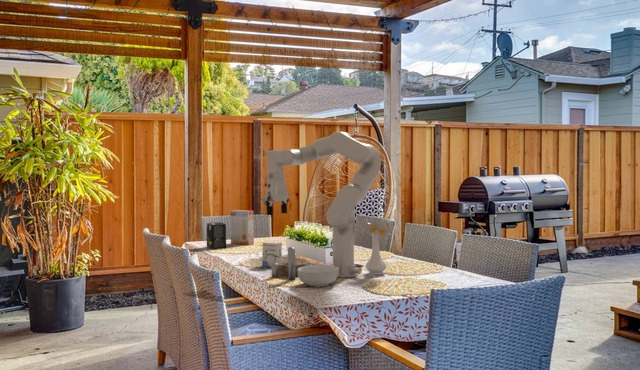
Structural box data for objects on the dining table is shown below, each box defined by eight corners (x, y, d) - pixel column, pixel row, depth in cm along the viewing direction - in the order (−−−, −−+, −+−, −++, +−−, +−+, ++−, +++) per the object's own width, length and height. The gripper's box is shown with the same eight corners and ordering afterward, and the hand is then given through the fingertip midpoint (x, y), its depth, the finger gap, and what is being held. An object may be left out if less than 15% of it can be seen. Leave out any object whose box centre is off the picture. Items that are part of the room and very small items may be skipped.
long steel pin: (296, 279, 256) (296, 247, 255) (292, 280, 253) (292, 248, 253) (291, 279, 257) (291, 246, 257) (286, 280, 255) (286, 247, 254)
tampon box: (206, 247, 356) (205, 222, 355) (221, 246, 360) (221, 221, 359) (211, 249, 346) (210, 224, 345) (226, 248, 350) (226, 223, 349)
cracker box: (254, 244, 366) (253, 210, 365) (248, 245, 361) (247, 211, 360) (236, 242, 374) (236, 209, 373) (230, 243, 369) (229, 210, 368)
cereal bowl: (315, 279, 256) (315, 263, 256) (346, 284, 246) (346, 267, 246) (289, 286, 243) (289, 268, 243) (320, 291, 233) (320, 273, 232)
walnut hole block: (304, 274, 267) (304, 263, 266) (293, 277, 260) (293, 266, 260) (287, 272, 272) (287, 261, 272) (275, 275, 266) (275, 264, 266)
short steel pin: (279, 277, 262) (279, 263, 262) (275, 278, 260) (275, 264, 259) (274, 276, 264) (274, 262, 264) (270, 277, 261) (269, 263, 261)
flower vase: (375, 278, 256) (374, 220, 255) (355, 271, 273) (354, 217, 272) (401, 276, 262) (400, 219, 260) (379, 269, 278) (379, 216, 277)
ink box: (261, 266, 290) (261, 242, 289) (267, 264, 294) (267, 240, 293) (276, 267, 286) (276, 243, 285) (282, 265, 290) (282, 241, 289)
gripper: (268, 177, 265) (270, 215, 265) (294, 176, 278) (295, 212, 279) (256, 177, 269) (258, 215, 270) (282, 176, 283) (283, 212, 283)
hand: (277, 214), depth 274 cm, fingers open, 9 cm apart
